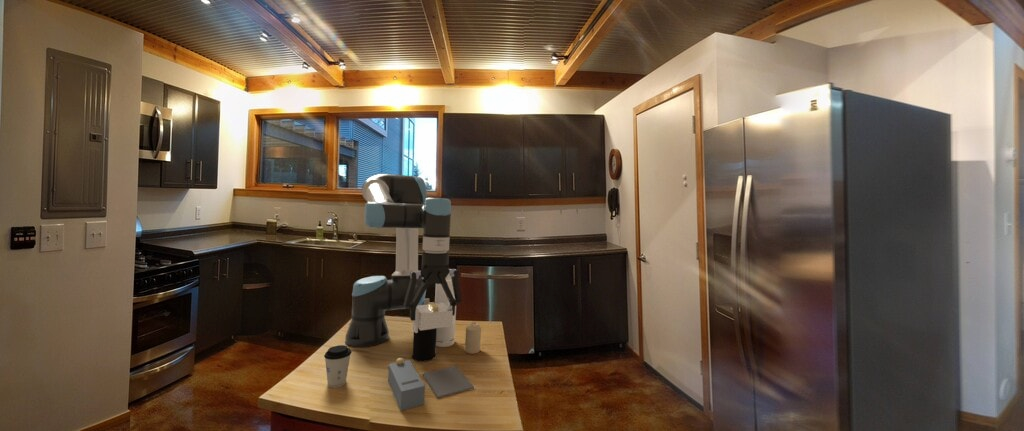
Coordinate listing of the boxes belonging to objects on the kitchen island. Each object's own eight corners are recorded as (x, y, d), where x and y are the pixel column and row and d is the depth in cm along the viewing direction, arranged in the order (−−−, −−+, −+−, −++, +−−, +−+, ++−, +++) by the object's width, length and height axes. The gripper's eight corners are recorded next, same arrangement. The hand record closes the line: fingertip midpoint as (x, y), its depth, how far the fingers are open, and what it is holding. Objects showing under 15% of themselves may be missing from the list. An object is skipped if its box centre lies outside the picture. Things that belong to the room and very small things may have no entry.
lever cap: (413, 321, 95) (414, 302, 95) (443, 317, 100) (444, 299, 100) (420, 330, 88) (421, 310, 88) (451, 326, 93) (452, 306, 93)
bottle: (431, 339, 126) (434, 268, 126) (451, 337, 130) (454, 267, 129) (435, 348, 119) (438, 272, 119) (456, 345, 123) (460, 271, 122)
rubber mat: (422, 374, 100) (422, 373, 100) (456, 367, 106) (456, 365, 106) (437, 398, 88) (437, 396, 88) (474, 388, 94) (474, 386, 94)
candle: (465, 347, 121) (466, 320, 121) (480, 347, 122) (481, 321, 122) (464, 353, 116) (465, 326, 116) (479, 354, 116) (481, 326, 116)
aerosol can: (429, 363, 108) (432, 303, 107) (407, 359, 109) (409, 300, 109) (440, 352, 116) (442, 297, 115) (418, 349, 117) (421, 294, 117)
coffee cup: (353, 376, 97) (355, 343, 97) (345, 389, 90) (347, 353, 90) (328, 377, 96) (329, 343, 96) (318, 390, 89) (320, 354, 89)
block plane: (387, 380, 96) (388, 360, 96) (408, 376, 99) (409, 356, 99) (400, 410, 82) (401, 386, 82) (424, 404, 85) (425, 381, 85)
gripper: (399, 254, 85) (395, 339, 85) (475, 252, 96) (472, 328, 96) (394, 250, 91) (390, 329, 92) (466, 249, 102) (462, 320, 103)
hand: (432, 328), depth 94 cm, fingers closed on lever cap, 9 cm apart
